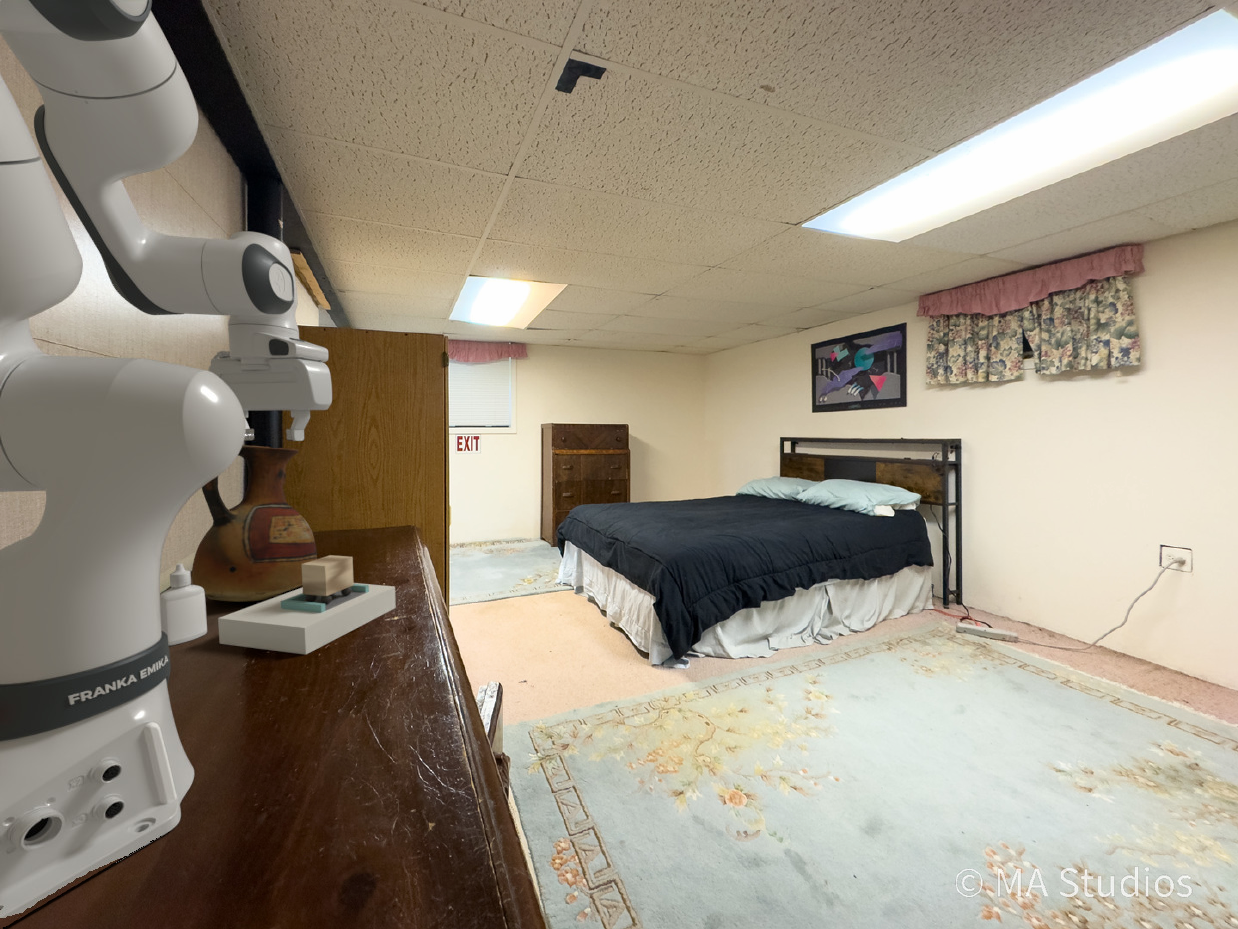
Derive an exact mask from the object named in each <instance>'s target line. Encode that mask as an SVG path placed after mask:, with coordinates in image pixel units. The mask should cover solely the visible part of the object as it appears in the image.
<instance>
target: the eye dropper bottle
mask: <svg viewBox="0 0 1238 929" xmlns="http://www.w3.org/2000/svg"><path fill="white" fill-rule="evenodd" d="M175 566H176V567H175V570H174V571H173V572H171V573H170V574H169V581H170V588H168V589H167V590H164V591H163V592H162V593H160V616H161V631H164V632H165V633H166V634H167V636H168V645H169V647H171V646H175V645H179V644H184V643H188V642H190V641H194V640H196V639H198V638H201V637H204V636H205V635H206V634H207V633H208V623H207V622H208V621H207V605H206V596H205V592H204V589H203V588H202V587H200V586H197V585H193V584H192V574H191V571H190V570H187V569H185V567H184V564H183V563H176V565H175Z"/></svg>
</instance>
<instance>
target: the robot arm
mask: <svg viewBox="0 0 1238 929" xmlns="http://www.w3.org/2000/svg"><path fill="white" fill-rule="evenodd" d="M152 4H153V0H0V35H1V37H2V39H4V41H5V44H7V46H8V48H9V49H10V50H11V53H13V55H14V56H15V57H16V59H17V60H18V62H19V63H20V64H21V66H22V68H23V69H24V70H25V72H26V73H27V74H28V76H29V77H30V79H31V80H32V82H34V84H35V86H36V88H37V89H38V92H39V94H40V96H41V99H42V101H43V104H41V105H40V106H39V107H37V109H36V111H35V113H34V117H33V130H34V135H35V138H36V142H37V144H38V147H39V149H40V151H41V153H42V156H43V158H44V160H45V161H46V164H47V165H48V168H49V170H50V171H51V173H52V175H53V176H54V178H55V180H56V182H57V184H58V185H59V187H60V189H61V191H62V192H63V194H64V195H65V197H66V199H67V200H68V202H69V204H70V205H71V207H72V209H73V210H74V212H75V214H76V216H77V217H78V219H79V220H80V223H82V226H83V227H84V229H85V231H86V233H87V234H88V235H89V238H90V239H91V240H92V242H93V244H94V245H95V246H94V247H96V249H97V251H98V252H99V254H100V256H101V258H102V262H103V264H104V267H105V270H106V273H107V276H108V278H109V280H110V282H111V285H112V287H113V288H114V290H115V291H116V292H117V293H118V294H119V296H121V298H123V300H125V301H126V302H127V303H128V304H130V305H132V306H133V307H134V308H136V309H137V310H139V311H141V312H143V313H145V314H147V315H151V316H171V315H173V316H174V315H176V316H177V315H185V314H186V315H203V316H205V315H206V316H207V315H209V316H229V319H228V323H227V330H228V345H229V346H228V347H229V348H228V349H229V351H228V350H221V351H220V350H219V351H217V353H216V354H215V355H214V356H213V358H211V359H210V365H209V367H208V370H206V369H201V368H196V367H191V366H189V365H188V366H187V365H183V364H177V363H173V362H167V361H166V362H165V361H161V360H156V359H150V358H139V357H138V358H133V357H109V356H108V357H106V356H105V357H104V356H103V357H102V356H78V355H77V356H75V355H73V356H72V355H71V356H70V355H53V354H46V353H44V352H43V351H42V350H41V349H40V348H39V347H38V345H37V344H36V342H35V341H34V338H33V334H32V332H31V327H30V326H31V325H30V318H31V317H35V316H37V315H39V314H41V313H43V312H45V311H47V310H49V309H51V308H53V307H56V306H57V305H58V304H60V303H62V302H63V301H65V300H67V299H68V298H69V297H70V296H71V295H72V294H73V293H74V292H75V291H76V289H77V288H78V286H79V283H80V281H81V278H82V275H83V269H84V268H83V266H84V264H83V262H84V260H83V257H82V254H81V253H80V250H79V248H78V244H77V242H76V240H75V237H74V235H73V233H72V230H71V227H70V225H69V223H68V220H67V218H66V216H65V213H64V211H63V209H62V206H61V203H60V201H59V198H58V196H57V194H56V192H55V189H54V186H53V184H52V182H51V179H50V177H49V174H48V172H47V170H46V166H45V164H44V162H43V160H42V157H41V156H40V153H39V150H38V148H37V146H36V143H35V141H34V139H33V137H32V135H31V134H32V133H31V132H30V130H29V128H28V125H27V123H26V121H25V119H24V117H23V115H22V113H21V111H20V109H19V107H18V104H17V103H16V101H15V98H14V96H13V94H12V92H11V91H10V89H9V87H8V85H7V83H6V82H5V80H4V78H3V76H2V74H1V73H0V493H3V492H4V493H7V492H8V493H9V492H10V493H11V492H36V491H37V492H42V491H43V492H45V505H44V511H43V515H42V516H41V519H40V522H39V524H38V526H37V527H36V528H35V530H34V531H33V532H32V534H30V535H29V536H26V537H24V538H22V539H19V540H17V541H15V542H13V543H11V544H9V545H7V546H5V547H2V548H1V549H0V909H1V910H0V918H6V917H7V916H12V915H15V914H19V913H23V912H24V911H25V910H26V909H27V908H31V907H32V906H34V905H35V904H36V903H37V902H38V901H40V900H42V899H44V898H46V897H47V896H48V895H51V894H53V893H55V892H56V891H57V890H58V889H61V888H62V887H64V886H66V885H67V884H68V883H71V882H73V881H74V880H75V879H76V878H79V877H82V876H84V875H86V874H87V873H88V872H89V871H93V870H95V869H98V868H99V867H102V866H104V865H107V864H109V863H110V862H113V861H115V860H117V859H120V858H123V857H124V856H127V857H129V856H130V855H131V854H130V853H132V852H133V853H135V852H137V851H139V850H140V849H142V848H144V847H145V846H147V845H149V844H151V842H150V841H152V840H154V841H155V840H157V839H160V838H161V837H163V836H164V835H166V834H167V833H168V832H170V831H172V830H173V829H174V828H176V827H177V826H178V824H179V823H180V821H181V817H182V812H181V811H182V810H181V803H182V800H183V799H184V798H185V796H186V795H187V792H188V791H189V789H190V788H191V786H192V784H193V782H194V778H195V769H194V767H193V765H192V763H191V761H190V760H189V758H188V756H187V753H186V752H185V750H184V746H183V745H182V742H181V739H180V736H179V734H178V729H177V726H176V723H175V718H174V715H173V711H172V706H171V700H170V694H169V690H168V684H169V679H170V675H171V671H172V670H171V669H172V668H171V656H170V655H171V654H170V646H169V645H168V636H167V634H166V633H165V632H164V631H161V616H160V594H161V565H162V564H161V562H162V556H163V555H162V554H163V549H164V547H165V542H166V539H167V536H168V534H169V532H170V530H171V527H172V525H173V524H174V522H175V520H176V518H177V516H178V515H179V513H180V512H181V511H182V509H183V508H184V507H185V505H186V504H187V503H188V502H189V501H190V499H192V497H193V496H194V495H195V494H196V493H198V491H199V490H202V487H203V486H204V485H206V484H207V483H208V482H210V481H211V480H213V479H214V478H216V477H217V476H218V477H219V476H221V475H222V474H223V473H224V472H225V471H226V470H227V469H228V468H229V467H230V466H231V465H232V464H233V463H234V461H236V459H237V457H239V456H238V454H239V452H240V450H241V448H242V445H244V441H253V440H255V435H254V434H255V429H254V428H250V426H249V423H248V421H247V419H248V418H249V411H252V412H253V411H290V417H291V418H293V421H292V423H291V427H290V428H286V430H285V433H286V440H287V441H290V442H297V441H298V442H301V441H304V440H305V429H306V427H307V425H308V423H309V421H310V419H311V411H326V410H328V409H329V408H330V406H331V405H332V402H333V387H332V386H333V384H332V376H331V372H330V368H329V367H328V365H327V364H326V362H327V361H329V350H328V348H326V347H324V346H321V345H317V344H314V343H311V342H308V341H306V340H303V339H300V330H299V326H298V323H297V320H296V311H297V309H298V291H297V280H296V274H295V273H296V272H295V268H294V263H293V262H294V261H293V259H292V254H291V251H290V249H289V247H288V246H287V245H286V244H285V243H284V242H282V241H281V240H279V239H278V238H276V237H274V236H271V235H269V234H266V233H262V232H258V231H252V230H251V231H250V230H249V231H248V230H245V231H244V230H243V231H237V232H234V233H232V234H231V235H230V237H229V238H228V239H225V238H206V237H205V238H202V237H191V236H176V235H170V234H169V235H168V234H164V233H161V232H157V231H155V230H154V229H153V230H152V229H150V228H148V227H146V226H145V225H144V224H143V222H142V221H141V218H140V216H139V214H138V211H137V210H136V207H135V206H134V203H133V202H132V199H131V197H130V196H129V193H128V190H127V189H126V187H125V185H124V183H123V181H122V180H124V179H126V178H129V177H133V176H136V175H141V174H145V173H150V172H155V171H158V170H160V169H163V168H165V167H167V166H169V165H170V164H172V163H174V162H176V161H177V160H178V159H180V158H181V157H182V156H183V155H184V154H185V153H186V152H187V151H188V149H190V147H191V146H192V144H193V143H194V141H195V138H196V135H197V133H198V128H199V112H198V107H197V104H196V100H195V98H194V94H193V91H192V89H191V87H190V84H189V82H188V79H187V77H186V76H185V73H184V72H183V69H182V67H181V66H180V63H179V61H178V59H177V57H176V55H175V54H174V51H173V50H172V48H171V45H170V43H169V40H167V38H166V36H165V34H164V32H163V29H162V28H161V26H160V24H159V22H158V21H157V19H156V18H155V15H154V13H153V12H152ZM160 836H161V837H160ZM156 838H157V839H156ZM152 842H153V841H152ZM143 846H144V847H143ZM141 847H142V848H141ZM139 848H140V849H139ZM138 849H139V850H138ZM136 850H137V851H136ZM134 851H135V852H134ZM133 853H132V854H133ZM129 854H130V855H129ZM123 859H124V858H123Z"/></svg>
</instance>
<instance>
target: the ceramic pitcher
mask: <svg viewBox="0 0 1238 929" xmlns="http://www.w3.org/2000/svg"><path fill="white" fill-rule="evenodd" d="M298 453H299V449H294V448H283V447H279V448H278V447H276V448H273V447H270V446H260V445H259V446H258V445H249V444H248V445H245V444H243V445H242V448H241V450H240V452H239V454H238V456H237V457H241V458H242V459H244V461H245V462H246V465H247V470H248V476H247V477H248V478H247V480H248V482H247V488H246V491H245V494H244V496H243V498H242V500H241V501H240V503H238V504H236V505H235V506H233V507H231V508H229V509H228V507H227V505H226V504H225V503H224V500H223V499H222V497H221V493H220V491H219V476H217V477H216V478H214V479H213V480H211V481H210V482H208V483H207V484H206V485H204V486H203V487H202V488H201V491H202V493H203V497H204V499H205V502H206V504H207V507H208V511H209V513H210V515H211V518H212V521H213V522H212V525H211V527H210V528H209V529H208V531H206V533H205V535H204V536H203V538H202V539H201V541H200V543H199V545H198V547H197V549H196V551H195V554H194V557H193V558H194V559H193V563H192V567H191V583H192V585H197V586H200V587H202V588H203V589H204V592H205V598H208V599H209V600H215V601H222V602H223V601H224V602H235V603H237V602H239V603H240V602H241V603H242V602H259V601H266V600H269V599H271V598H272V597H273V598H274V597H278V596H280V595H282V594H283V593H285V592H287V591H291V590H294V589H297V588H299V587H302V586H303V585H302V564H304V563H307V562H310V561H313V560H317V559H318V555H317V554H318V552H317V545H316V539H315V537H314V534H313V531H312V528H311V527H310V524H309V523H308V522H307V521H306V519H305V518H304V517H303V515H301V514H300V513H299V511H298V510H296V509H295V508H294V507H292V506H291V505H290V504H289V503H288V502H287V498H286V495H285V492H284V485H285V483H286V481H287V480H286V479H287V478H286V476H287V475H286V474H287V473H286V466H287V464H288V462H290V460H291V459H292V458H293V457H294V456H296V455H297V454H298Z"/></svg>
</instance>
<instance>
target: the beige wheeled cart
mask: <svg viewBox="0 0 1238 929" xmlns="http://www.w3.org/2000/svg"><path fill="white" fill-rule="evenodd" d="M353 561H354V560H353V556H346V555H344V556H343V555H333V554H332V555H331V554H329V555H327V556H323V557H320V558H317V560H313V561H310V562H307V563H304V564H302V585H301V586H302V587H303V594H307V595H306V598H305V599H306V601H307V602H314V601H315V600H316V598H317V596H316V595H318V596H322V597H321V602H322V603H324V604H328V603H330V602H331V600H332V597H331V594H334V593H336V592H338V591H341V593H342V594H343V595H345V596H347V595H349V594H350V593H351V591H352V589H351V588H350V586H353V585H354V583H355V582H354V564H353Z"/></svg>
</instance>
